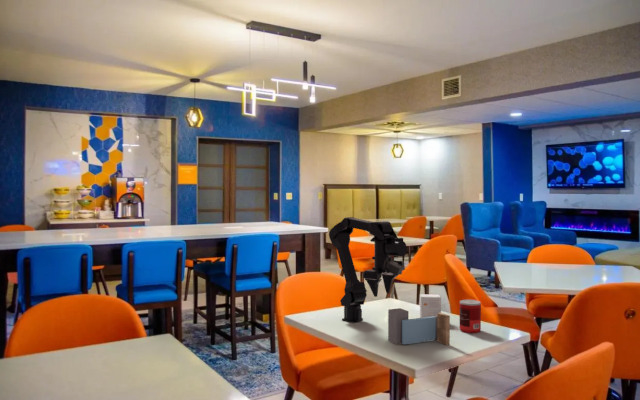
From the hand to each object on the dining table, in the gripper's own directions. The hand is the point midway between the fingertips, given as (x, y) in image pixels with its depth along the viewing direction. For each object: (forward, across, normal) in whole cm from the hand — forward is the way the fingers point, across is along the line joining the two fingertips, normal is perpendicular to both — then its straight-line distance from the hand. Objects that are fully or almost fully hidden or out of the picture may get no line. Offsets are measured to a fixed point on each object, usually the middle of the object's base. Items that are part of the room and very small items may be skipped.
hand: (381, 294), depth 190 cm
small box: (+13, +22, -10) cm, 28 cm away
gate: (+13, -8, -20) cm, 25 cm away
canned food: (+13, +18, -28) cm, 36 cm away
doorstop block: (+13, -12, -13) cm, 22 cm away
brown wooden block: (+13, -4, -27) cm, 30 cm away
